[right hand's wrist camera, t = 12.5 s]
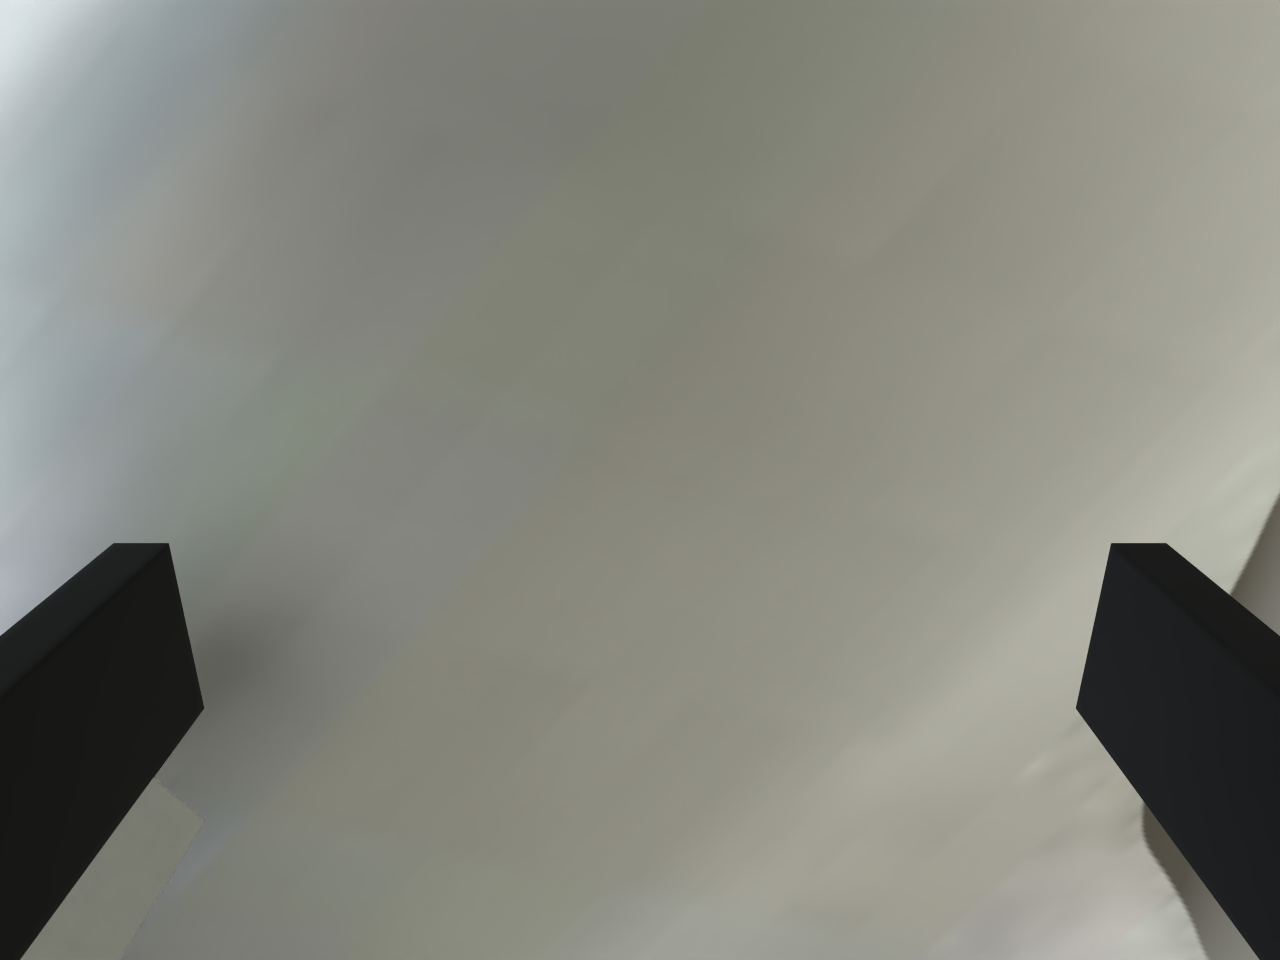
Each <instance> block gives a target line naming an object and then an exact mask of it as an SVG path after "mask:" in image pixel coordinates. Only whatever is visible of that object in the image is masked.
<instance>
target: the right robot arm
mask: <svg viewBox="0 0 1280 960" xmlns="http://www.w3.org/2000/svg"><path fill="white" fill-rule="evenodd" d="M203 709H204V705H203V701H202V696H201V691H200V687H199V682H198V678H197V673H196V668H195V664H194V659H193V654H192V650H191V645H190V640H189V636H188V631H187V626H186V622H185V617H184V612H183V608H182V603H181V598H180V594H179V589H178V584H177V580H176V575H175V570H174V566H173V561H172V556H171V552H170V547H169V543H113V544H112V545H111V546H110V547H109V548H107V549H106V550H105V551H104V552H102V553H101V554H100V555H99V556H98V557H96V558H95V559H94V560H93V561H91V562H90V563H89V564H88V565H87V566H85V567H84V568H83V569H82V570H80V571H79V572H78V573H77V574H76V575H74V576H73V577H72V578H71V579H69V580H68V581H67V582H66V583H65V584H63V585H62V586H61V587H60V588H58V589H57V590H56V591H55V592H54V593H52V594H51V595H50V596H49V597H47V598H46V599H45V600H44V601H43V602H41V603H40V604H39V605H38V606H36V607H35V608H34V609H33V610H32V611H30V612H29V613H28V614H27V615H25V616H24V617H23V618H22V619H21V620H19V621H18V622H17V623H16V624H14V625H13V626H12V627H11V628H10V629H8V630H7V631H6V632H5V633H4V634H2V635H1V636H0V960H20V959H21V958H22V957H23V955H24V954H25V953H26V951H27V950H28V948H29V947H30V946H31V944H32V943H33V942H34V940H35V939H36V938H37V936H38V935H39V933H40V932H41V931H42V929H43V928H44V927H45V925H46V924H47V922H48V921H49V920H50V918H51V917H52V916H53V914H54V913H55V912H56V910H57V909H58V907H59V906H60V905H61V903H62V902H63V901H64V899H65V898H66V897H67V895H68V894H69V892H70V891H71V890H72V888H73V887H74V886H75V884H76V883H77V881H78V880H79V879H80V877H81V876H82V875H83V873H84V872H85V871H86V869H87V868H88V866H89V865H90V864H91V862H92V861H93V860H94V858H95V857H96V855H97V854H98V853H99V851H100V850H101V849H102V847H103V846H104V845H105V843H106V842H107V840H108V839H109V838H110V836H111V835H112V834H113V832H114V831H115V830H116V828H117V827H118V825H119V824H120V823H121V821H122V820H123V819H124V817H125V816H126V814H127V813H128V812H129V810H130V809H131V808H132V806H133V805H134V804H135V802H136V801H137V799H138V798H139V797H140V795H141V794H142V793H143V791H144V790H145V788H146V787H147V786H148V784H149V783H150V782H151V780H152V779H153V778H154V776H155V775H156V773H157V772H158V771H159V769H160V768H161V767H162V765H163V764H164V763H165V761H166V760H167V758H168V757H169V756H170V754H171V753H172V752H173V750H174V749H175V747H176V746H177V745H178V743H179V742H180V741H181V739H182V738H183V737H184V735H185V734H186V732H187V731H188V730H189V728H190V727H191V726H192V724H193V723H194V721H195V720H196V719H197V717H198V716H199V715H200V713H201V712H202V711H203ZM1076 709H1077V711H1078V712H1079V713H1080V715H1081V716H1082V717H1083V719H1084V720H1085V721H1086V723H1087V724H1088V726H1089V727H1090V728H1091V730H1092V731H1093V732H1094V734H1095V735H1096V737H1097V738H1098V739H1099V741H1100V742H1101V743H1102V745H1103V746H1104V747H1105V749H1106V750H1107V752H1108V753H1109V754H1110V756H1111V757H1112V758H1113V760H1114V761H1115V763H1116V764H1117V765H1118V767H1119V768H1120V769H1121V771H1122V772H1123V773H1124V775H1125V776H1126V778H1127V779H1128V780H1129V782H1130V783H1131V784H1132V786H1133V787H1134V788H1135V790H1136V791H1137V793H1138V794H1139V795H1140V797H1141V798H1142V799H1143V801H1144V802H1145V804H1146V805H1147V806H1148V808H1149V809H1150V810H1151V812H1152V813H1153V814H1154V816H1155V817H1156V819H1157V820H1158V821H1159V823H1160V824H1161V825H1162V827H1163V828H1164V830H1165V831H1166V832H1167V834H1168V835H1169V836H1170V838H1171V839H1172V840H1173V842H1174V843H1175V845H1176V846H1177V847H1178V849H1179V850H1180V851H1181V853H1182V854H1183V855H1184V857H1185V858H1186V860H1187V861H1188V862H1189V864H1190V865H1191V866H1192V868H1193V869H1194V871H1195V872H1196V873H1197V875H1198V876H1199V877H1200V879H1201V880H1202V881H1203V883H1204V884H1205V885H1206V887H1207V888H1208V890H1209V891H1210V892H1211V894H1212V895H1213V897H1214V898H1215V899H1216V901H1217V902H1218V903H1219V905H1220V906H1221V907H1222V909H1223V910H1224V912H1225V913H1226V914H1227V916H1228V917H1229V918H1230V920H1231V921H1232V922H1233V924H1234V925H1235V927H1236V928H1237V929H1238V931H1239V932H1240V933H1241V935H1242V936H1243V938H1244V939H1245V940H1246V942H1247V943H1248V944H1249V946H1250V947H1251V948H1252V950H1253V951H1254V953H1255V954H1256V955H1257V957H1258V958H1259V959H1260V960H1280V636H1279V635H1278V634H1276V633H1275V632H1274V631H1273V630H1272V629H1270V628H1269V627H1268V626H1267V625H1266V624H1264V623H1263V622H1262V621H1261V620H1259V619H1258V618H1257V617H1256V616H1255V615H1253V614H1252V613H1251V612H1250V611H1248V610H1247V609H1246V608H1245V607H1243V606H1242V605H1241V604H1240V603H1239V602H1237V601H1236V600H1235V599H1234V598H1232V597H1231V596H1230V595H1229V594H1228V593H1226V592H1225V591H1224V590H1223V589H1222V588H1220V587H1219V586H1218V585H1217V584H1215V583H1214V582H1213V581H1212V580H1211V579H1209V578H1208V577H1207V576H1206V575H1204V574H1203V573H1202V572H1201V571H1200V570H1198V569H1197V568H1196V567H1195V566H1193V565H1192V564H1191V563H1190V562H1189V561H1187V560H1186V559H1185V558H1184V557H1182V556H1181V555H1180V554H1179V553H1178V552H1176V551H1175V550H1174V549H1173V548H1171V547H1170V546H1169V545H1168V544H1167V543H1111V547H1110V552H1109V556H1108V561H1107V566H1106V570H1105V575H1104V580H1103V584H1102V589H1101V594H1100V598H1099V603H1098V608H1097V612H1096V617H1095V622H1094V626H1093V631H1092V636H1091V640H1090V645H1089V650H1088V654H1087V659H1086V664H1085V668H1084V673H1083V678H1082V682H1081V687H1080V691H1079V696H1078V701H1077V705H1076Z"/></svg>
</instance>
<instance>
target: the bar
mask: <svg viewBox="0 0 1280 960" xmlns="http://www.w3.org/2000/svg"><path fill="white" fill-rule="evenodd" d="M204 822H205V821H204V820H203V819H202V818H201V817H200V816H199V815H197V814H196V813H195V812H194V811H193V810H192V809H190V808H189V807H188V806H187V805H186V804H184V803H183V802H182V801H181V800H180V799H178V798H177V797H176V796H175V795H174V794H173V793H171V792H170V791H169V790H168V789H167V788H165V787H164V786H163V785H162V784H161V783H160V782H158V781H157V780H156V779H155V778H153V779H152V780H151V782H150V783H149V784H148V786H147V787H146V788H145V790H144V791H143V793H142V794H141V795H140V797H139V798H138V799H137V801H136V802H135V804H134V805H133V806H132V808H131V809H130V810H129V812H128V813H127V814H126V816H125V817H124V819H123V820H122V821H121V823H120V824H119V825H118V827H117V828H116V830H115V831H114V832H113V834H112V835H111V836H110V838H109V839H108V840H107V842H106V843H105V845H104V846H103V847H102V849H101V850H100V851H99V853H98V854H97V855H96V857H95V858H94V860H93V861H92V862H91V864H90V865H89V866H88V868H87V869H86V871H85V872H84V873H83V875H82V876H81V877H80V879H79V880H78V881H77V883H76V884H75V886H74V887H73V888H72V890H71V891H70V892H69V894H68V895H67V897H66V898H65V899H64V901H63V902H62V903H61V905H60V906H59V907H58V909H57V910H56V912H55V913H54V914H53V916H52V917H51V918H50V920H49V921H48V922H47V924H46V925H45V927H44V928H43V929H42V931H41V932H40V933H39V935H38V936H37V938H36V939H35V940H34V942H33V943H32V944H31V946H30V947H29V948H28V950H27V951H26V953H25V954H24V955H23V957H22V958H21V959H20V960H120V959H121V957H122V956H123V954H124V952H125V951H126V949H127V948H128V946H129V944H130V943H131V941H132V939H133V938H134V936H135V935H136V933H137V931H138V930H139V928H140V926H141V925H142V923H143V921H144V920H145V918H146V917H147V915H148V913H149V912H150V910H151V908H152V907H153V905H154V904H155V902H156V900H157V899H158V897H159V895H160V894H161V892H162V891H163V889H164V887H165V886H166V884H167V882H168V881H169V879H170V878H171V876H172V874H173V873H174V871H175V869H176V868H177V866H178V864H179V863H180V861H181V860H182V858H183V856H184V855H185V853H186V851H187V850H188V848H189V847H190V845H191V843H192V842H193V840H194V838H195V837H196V835H197V834H198V832H199V830H200V829H201V827H202V825H203V824H204Z"/></svg>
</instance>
